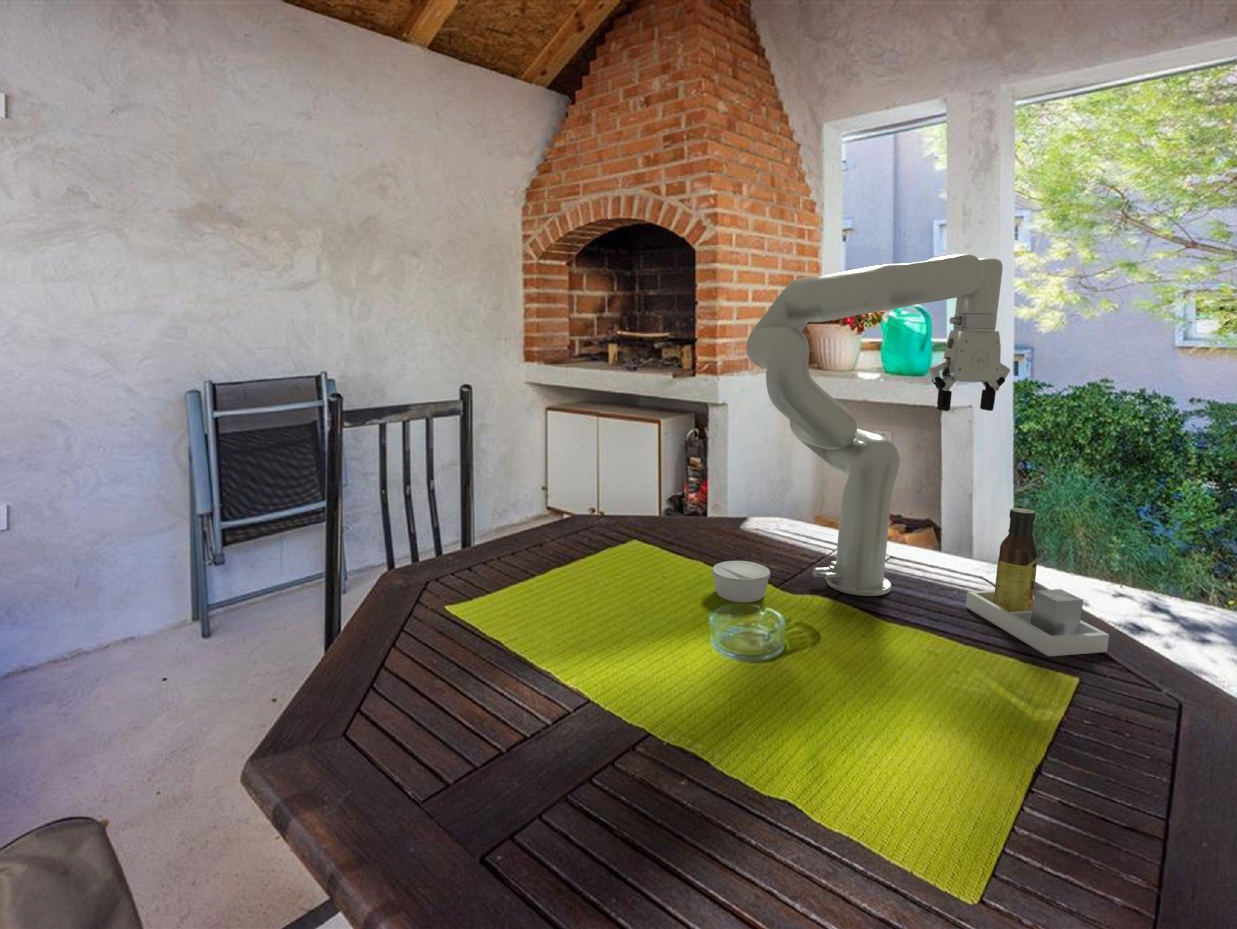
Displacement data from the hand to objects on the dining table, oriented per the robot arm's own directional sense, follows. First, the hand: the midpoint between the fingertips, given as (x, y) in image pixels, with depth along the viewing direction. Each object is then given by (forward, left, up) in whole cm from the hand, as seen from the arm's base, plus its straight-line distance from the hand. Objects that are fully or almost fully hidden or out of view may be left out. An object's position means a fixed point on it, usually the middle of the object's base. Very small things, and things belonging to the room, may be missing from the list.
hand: (965, 410), depth 150 cm
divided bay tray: (-1, -26, -36) cm, 45 cm away
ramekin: (-46, -1, -37) cm, 59 cm away
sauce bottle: (-1, -21, -35) cm, 41 cm away
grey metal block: (-1, -31, -35) cm, 47 cm away
